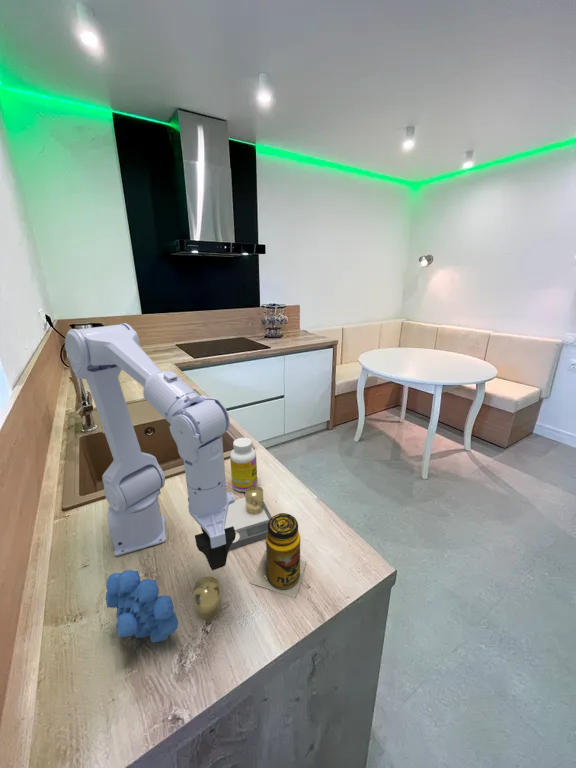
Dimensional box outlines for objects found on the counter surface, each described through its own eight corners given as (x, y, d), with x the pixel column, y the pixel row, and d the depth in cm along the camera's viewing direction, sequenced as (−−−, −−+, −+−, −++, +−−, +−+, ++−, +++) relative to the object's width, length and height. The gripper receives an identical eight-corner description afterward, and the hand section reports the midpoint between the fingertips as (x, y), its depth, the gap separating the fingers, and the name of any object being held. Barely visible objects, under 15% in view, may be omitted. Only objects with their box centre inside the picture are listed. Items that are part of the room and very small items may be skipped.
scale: (221, 553, 61) (220, 544, 60) (211, 513, 72) (210, 505, 71) (277, 534, 66) (277, 526, 65) (260, 499, 76) (259, 491, 75)
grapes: (92, 652, 45) (74, 593, 41) (127, 607, 51) (113, 551, 47) (161, 678, 42) (147, 616, 38) (189, 627, 48) (180, 569, 44)
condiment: (295, 597, 53) (296, 543, 49) (250, 584, 55) (247, 531, 51) (306, 562, 59) (307, 511, 55) (265, 551, 62) (263, 502, 58)
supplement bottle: (255, 493, 78) (253, 449, 74) (229, 493, 78) (226, 448, 74) (258, 477, 85) (257, 435, 80) (234, 477, 85) (231, 435, 81)
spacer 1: (197, 624, 49) (195, 603, 47) (194, 601, 52) (192, 581, 51) (223, 614, 50) (221, 593, 49) (218, 592, 54) (216, 572, 52)
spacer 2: (265, 511, 69) (265, 494, 67) (248, 516, 68) (247, 499, 66) (260, 500, 72) (260, 484, 71) (244, 505, 71) (243, 488, 70)
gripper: (244, 500, 42) (249, 575, 46) (222, 449, 54) (227, 512, 59) (191, 515, 39) (201, 593, 43) (180, 458, 52) (189, 523, 56)
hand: (213, 547), depth 51 cm, fingers open, 7 cm apart
